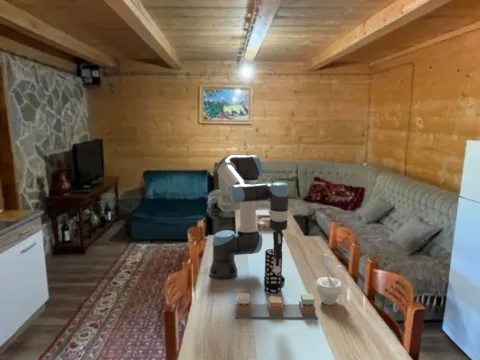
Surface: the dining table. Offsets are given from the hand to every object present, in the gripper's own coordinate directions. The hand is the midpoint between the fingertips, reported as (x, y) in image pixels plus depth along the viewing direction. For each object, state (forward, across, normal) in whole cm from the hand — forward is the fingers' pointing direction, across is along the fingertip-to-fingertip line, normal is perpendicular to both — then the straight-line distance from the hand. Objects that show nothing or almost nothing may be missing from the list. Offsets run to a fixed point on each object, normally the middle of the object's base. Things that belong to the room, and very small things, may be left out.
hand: (276, 271), depth 159 cm
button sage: (+16, 0, +14) cm, 21 cm away
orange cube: (+18, 0, 0) cm, 18 cm away
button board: (+19, 0, 0) cm, 19 cm away
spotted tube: (+19, -20, +1) cm, 28 cm away
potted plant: (+19, -9, +26) cm, 33 cm away
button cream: (+16, 0, -14) cm, 22 cm away
